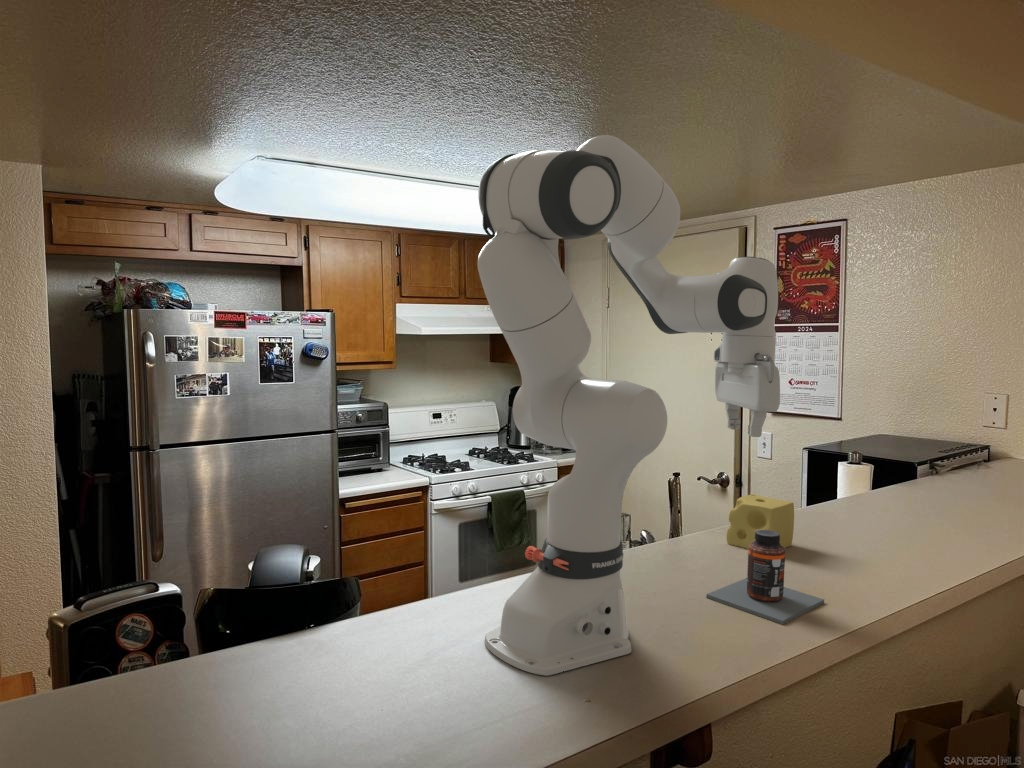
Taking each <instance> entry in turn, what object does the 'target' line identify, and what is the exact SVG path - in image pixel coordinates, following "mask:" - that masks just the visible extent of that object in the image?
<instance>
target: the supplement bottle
mask: <svg viewBox="0 0 1024 768" xmlns="http://www.w3.org/2000/svg"><path fill="white" fill-rule="evenodd" d="M755 539H756V541H755V542H752V543H751V544H750V545H749V549H747V550H748V551H747V574H746V575H747V576H746V578H747V593H748V595H749V596H750V597H752V598H754V599H756V600H760V601H765V602H776V601H779V600H781V599H782V598H783V590H784V587H785V584H784V583H785V565H786V563H785V562H786V557H785V556H786V550H785V549H786V548H783V546H781V544H780V543H779V541H780V534H779V533H778V532H775V531H771V530H757V531H755Z"/></svg>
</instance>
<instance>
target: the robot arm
mask: <svg viewBox="0 0 1024 768" xmlns="http://www.w3.org/2000/svg"><path fill="white" fill-rule="evenodd" d="M478 206H479V209H480V212H481V215H482V229H483V231H484V232H485V233H486V235H487V236H488V237H489V238H490V239H489V240H488V241H487V242H486V243H485V244H484V246H483V247H482V248H481V250H480V252H479V254H478V258H477V271H478V275H479V279H480V282H481V285H482V288H483V292H484V295H485V297H486V300H487V302H488V303H487V304H488V306H489V308H490V309H491V312H492V315H493V317H494V319H495V321H496V323H497V325H498V328H499V329H500V330H501V333H502V335H503V337H504V339H505V342H506V343H507V344H508V347H509V349H510V352H511V353H512V356H513V357H514V359H515V362H516V363H517V366H518V369H519V372H520V377H521V386H519V389H518V390H517V392H516V394H515V396H514V399H513V403H512V417H513V422H514V423H515V424H514V425H515V427H516V428H517V430H518V431H519V433H521V434H522V435H524V436H525V437H527V438H529V439H532V440H534V441H536V442H539V443H541V444H543V445H546V446H550V447H556V448H562V449H568V450H573V451H575V459H574V463H573V466H572V469H571V471H570V473H569V474H567V475H564V476H562V477H561V478H560V479H558V480H557V481H555V482H554V484H552V486H551V487H550V488H549V490H548V494H547V512H546V513H547V522H546V525H547V526H546V531H547V532H546V538H545V539H544V541H543V544H542V547H541V548H537V547H536V546H533V545H529V546H528V547H526V549H525V551H524V555H525V558H526V559H527V560H530V561H533V562H534V563H537V567H536V568H535V569H534V570H533V572H532V573H530V575H529V576H528V577H527V578H526V579H525V581H523V583H521V585H519V587H517V589H515V591H514V592H513V593H512V594H511V595H510V596H509V597H508V598H507V599H506V601H505V603H504V606H503V609H502V614H501V623H500V626H498V627H497V628H494V629H493V630H491V631H489V632H488V633H486V634H485V636H484V644H485V646H486V648H487V649H488V651H490V652H491V654H493V655H494V656H496V658H498V659H500V660H501V661H503V662H505V663H507V664H509V665H511V666H513V667H515V668H517V669H520V671H521V670H522V671H525V672H528V673H532V674H534V675H541V676H552V675H555V674H559V673H563V671H564V672H566V671H567V672H568V671H571V670H575V669H577V668H581V667H586V666H588V665H591V664H596V663H600V662H604V661H607V660H611V659H615V658H618V657H621V656H626V655H629V654H630V653H632V642H631V641H630V640H629V637H630V633H629V629H628V625H627V615H626V604H625V593H624V588H623V584H622V579H621V570H622V568H623V564H624V563H623V559H624V552H623V551H624V547H623V546H624V545H623V542H622V541H621V525H622V524H621V522H622V512H623V511H622V508H623V499H624V495H625V489H626V488H627V487H626V486H627V484H628V480H629V478H630V476H631V474H632V473H633V471H634V469H636V468H637V466H638V465H639V463H640V462H641V461H642V460H644V459H645V458H646V457H648V456H649V455H650V454H652V453H653V452H655V450H656V449H657V448H658V447H659V446H660V444H661V443H662V441H663V440H664V437H665V436H666V432H667V429H668V414H667V412H668V411H667V408H666V405H665V402H664V400H663V398H662V397H661V395H660V394H659V393H658V392H657V391H656V390H654V389H652V388H649V387H646V386H644V385H641V384H637V383H633V382H631V381H628V380H618V379H605V378H593V377H589V376H588V377H587V376H586V375H585V374H584V373H583V372H582V371H581V370H580V367H579V366H580V365H581V363H583V362H584V360H585V358H586V357H587V355H588V354H589V351H590V347H591V344H592V335H591V331H590V328H589V326H588V323H587V322H586V318H585V317H584V314H583V313H582V310H581V307H580V305H579V303H578V301H577V299H576V297H575V294H574V291H573V290H572V287H571V285H570V283H569V281H568V279H567V276H566V275H565V273H564V272H563V271H564V270H563V269H562V268H561V263H560V256H559V240H560V239H564V240H565V239H566V240H578V239H579V240H580V239H584V238H588V237H591V236H593V235H595V234H597V233H598V232H602V234H603V235H604V236H605V237H606V238H607V248H608V252H609V256H610V257H611V259H612V260H613V262H614V263H615V265H616V266H617V268H618V270H619V271H620V272H621V273H622V275H623V276H624V277H625V279H626V280H627V281H628V283H629V284H630V285H631V287H632V288H633V289H634V291H635V292H636V293H637V295H638V296H639V298H640V299H641V300H642V302H643V303H644V304H645V307H646V309H647V311H648V314H649V316H650V319H652V320H651V321H652V322H653V324H654V325H655V326H656V327H657V328H658V329H659V331H661V332H662V333H665V334H667V335H678V334H688V333H704V334H705V333H706V334H707V333H710V334H713V333H722V334H721V342H720V344H719V346H718V347H717V348H715V350H713V351H714V352H713V361H714V362H715V363H716V364H715V374H714V391H715V397H716V401H718V402H721V403H724V404H725V405H724V406H725V408H724V409H725V415H726V418H727V424H726V425H727V428H728V430H729V429H730V430H735V431H737V430H740V428H741V419H739V417H740V416H739V410H740V408H744V409H748V410H750V416H751V420H750V424H749V425H747V435H748V436H750V437H752V438H760V437H762V435H763V434H762V433H763V432H762V431H763V426H764V424H765V422H766V419H767V412H769V413H770V412H771V413H776V412H777V411H779V408H780V404H781V375H780V371H779V368H778V366H776V364H775V363H776V362H775V360H776V343H777V333H776V328H775V322H776V317H777V313H778V309H779V308H778V307H779V285H778V284H779V282H778V276H777V275H778V273H777V268H776V265H775V264H774V262H772V261H770V260H768V259H766V258H763V257H756V256H740V257H736V258H733V259H732V260H730V263H729V265H728V267H727V268H726V269H723V270H721V271H720V272H716V273H712V274H702V275H677V274H673V273H670V272H668V271H667V270H666V268H665V266H664V265H663V264H662V262H661V261H660V260H659V258H658V257H657V256H658V255H659V254H660V253H662V252H663V250H665V249H666V248H667V246H668V245H669V244H670V243H671V241H672V240H673V239H674V237H675V234H676V233H677V231H678V229H679V225H680V222H681V205H680V203H679V201H678V198H677V196H676V194H675V192H674V191H673V190H672V188H671V187H670V185H669V184H668V183H667V182H666V181H665V180H664V178H662V176H661V175H660V174H659V173H658V172H657V171H656V170H655V168H654V166H652V165H651V164H650V163H649V162H648V161H647V160H646V159H645V158H644V157H643V156H641V154H640V153H639V152H637V151H636V150H634V149H633V148H632V147H631V146H630V145H629V144H627V143H625V141H623V140H622V139H620V138H619V137H616V136H615V135H612V134H611V135H610V134H602V135H601V134H599V135H597V136H594V137H592V138H590V139H588V140H586V141H585V142H584V143H582V144H581V145H580V146H579V147H578V148H577V149H572V150H566V151H565V150H564V151H563V150H549V149H537V150H530V151H529V150H528V151H525V152H521V153H510V154H508V155H504V156H502V157H500V158H499V159H497V160H495V161H493V162H492V163H490V165H488V167H487V168H485V170H484V171H483V173H482V175H481V177H480V179H479V185H478ZM490 232H491V233H492V234H491V233H490Z"/></svg>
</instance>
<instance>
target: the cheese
mask: <svg viewBox="0 0 1024 768" xmlns="http://www.w3.org/2000/svg"><path fill="white" fill-rule="evenodd" d="M728 522H729V523H730V526H729V527H728V528H727V530H726V542H727V544H728V545H731V546H736V547H739V548H743V549H747V550H749V545H750V544H751V543H752V542H755V541H756V539H755V531H757V530H771V531H775V532H778V533H779V534H780V541H779V543H780V544H781V546H783V548H784V549H786V548H788V547H790V546H792V545H793V538H794V530H795V529H794V528H795V526H794V525H795V505H794V502H792V501H788V500H784V499H778V498H772V497H767V496H763V495H759V494H758V495H757V494H754V493H753V494H747V495H743V496H740V497H739V498H737V499H736V504H735V506H734V508H731V509H730V511H729V513H728Z"/></svg>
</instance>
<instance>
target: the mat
mask: <svg viewBox="0 0 1024 768" xmlns="http://www.w3.org/2000/svg"><path fill="white" fill-rule="evenodd" d="M706 598H707V599H710V600H712V601H716V602H718V603H721V604H723V605H727V606H730V607H732V608H734V609H735V608H736V609H738V610H741V611H743V612H746V613H748V614H749V613H750V614H752V615H755V616H757V617H760V618H763V619H765V620H769V621H771V622H775V623H777V624H780V625H784V624H786V623H788V622H790V621H792V620H794V619H796V618H798V617H800V616H801V615H802V616H803V614H805V613H808V612H809V611H811V610H813V609H815V608H817V607H819V606H821V605H823V604H824V603H825V598H821V597H818V596H815V595H812V594H809V593H805V592H802V591H798V590H795V589H792V588H789V587H786V586H784V590H783V598H782V599H781V600H779V601H776V602H765V601H760V600H756V599H754V598H752V597H750V596H749V595H748V593H747V577H745V578H743V579H740V580H738V581H735V582H733V583H730V584H728V585H726V586H723V587H721V588H718V589H716V590H714V591H710V592H709V593H706Z"/></svg>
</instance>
